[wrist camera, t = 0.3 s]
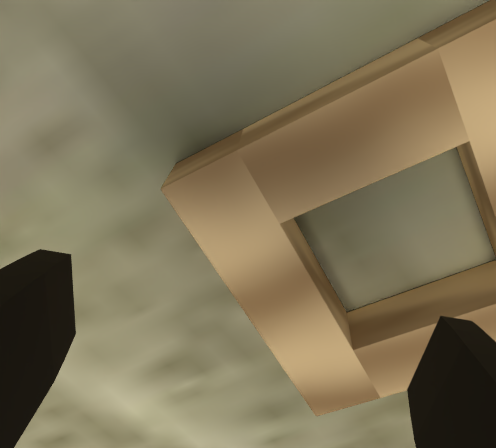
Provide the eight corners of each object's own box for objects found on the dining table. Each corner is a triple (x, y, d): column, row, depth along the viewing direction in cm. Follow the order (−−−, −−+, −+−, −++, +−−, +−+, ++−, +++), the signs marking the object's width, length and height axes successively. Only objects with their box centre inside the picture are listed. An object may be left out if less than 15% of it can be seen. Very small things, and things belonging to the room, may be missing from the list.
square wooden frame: (592, 288, 20) (628, 326, 18) (313, 376, 24) (316, 416, 22) (514, -13, 15) (553, -11, 13) (175, 164, 19) (160, 188, 17)
